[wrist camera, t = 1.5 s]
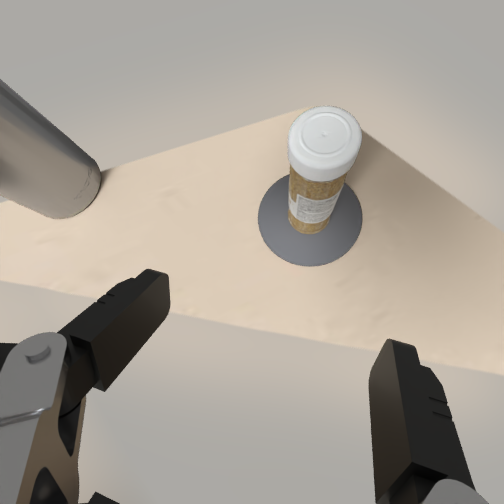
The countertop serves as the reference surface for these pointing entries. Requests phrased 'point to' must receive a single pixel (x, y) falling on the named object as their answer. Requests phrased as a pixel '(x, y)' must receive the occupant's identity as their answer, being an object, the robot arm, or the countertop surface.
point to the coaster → (308, 245)
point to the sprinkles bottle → (319, 164)
